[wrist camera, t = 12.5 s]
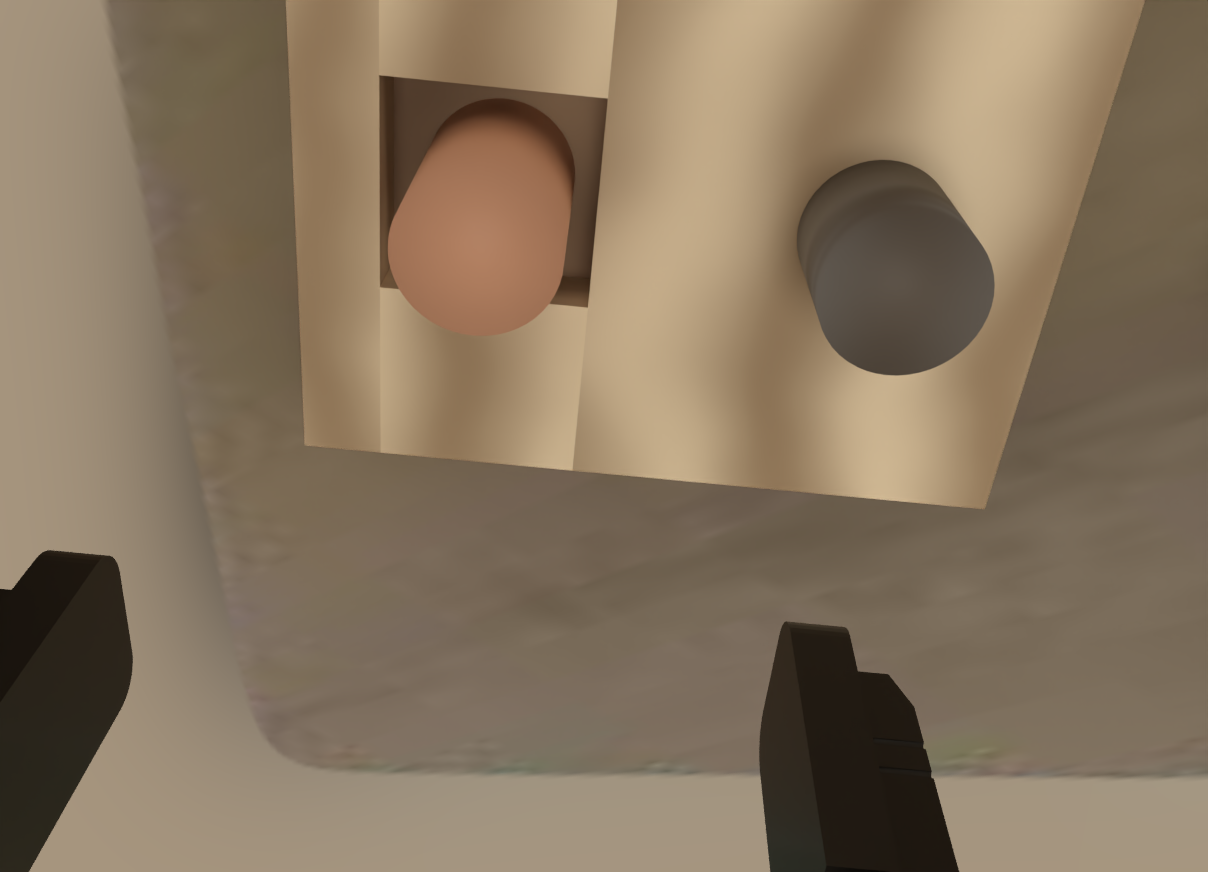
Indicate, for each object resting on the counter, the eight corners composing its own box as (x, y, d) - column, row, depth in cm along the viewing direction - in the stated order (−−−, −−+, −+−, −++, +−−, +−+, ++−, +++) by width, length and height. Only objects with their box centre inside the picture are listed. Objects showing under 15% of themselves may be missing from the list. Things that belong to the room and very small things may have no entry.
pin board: (1122, -94, 29) (1251, -54, 23) (960, 456, 37) (1023, 593, 31) (311, -181, 28) (221, -165, 22) (328, 396, 36) (266, 523, 30)
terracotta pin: (580, 105, 30) (570, 178, 25) (570, 248, 32) (558, 342, 27) (428, 91, 30) (386, 162, 25) (427, 236, 32) (389, 328, 27)
